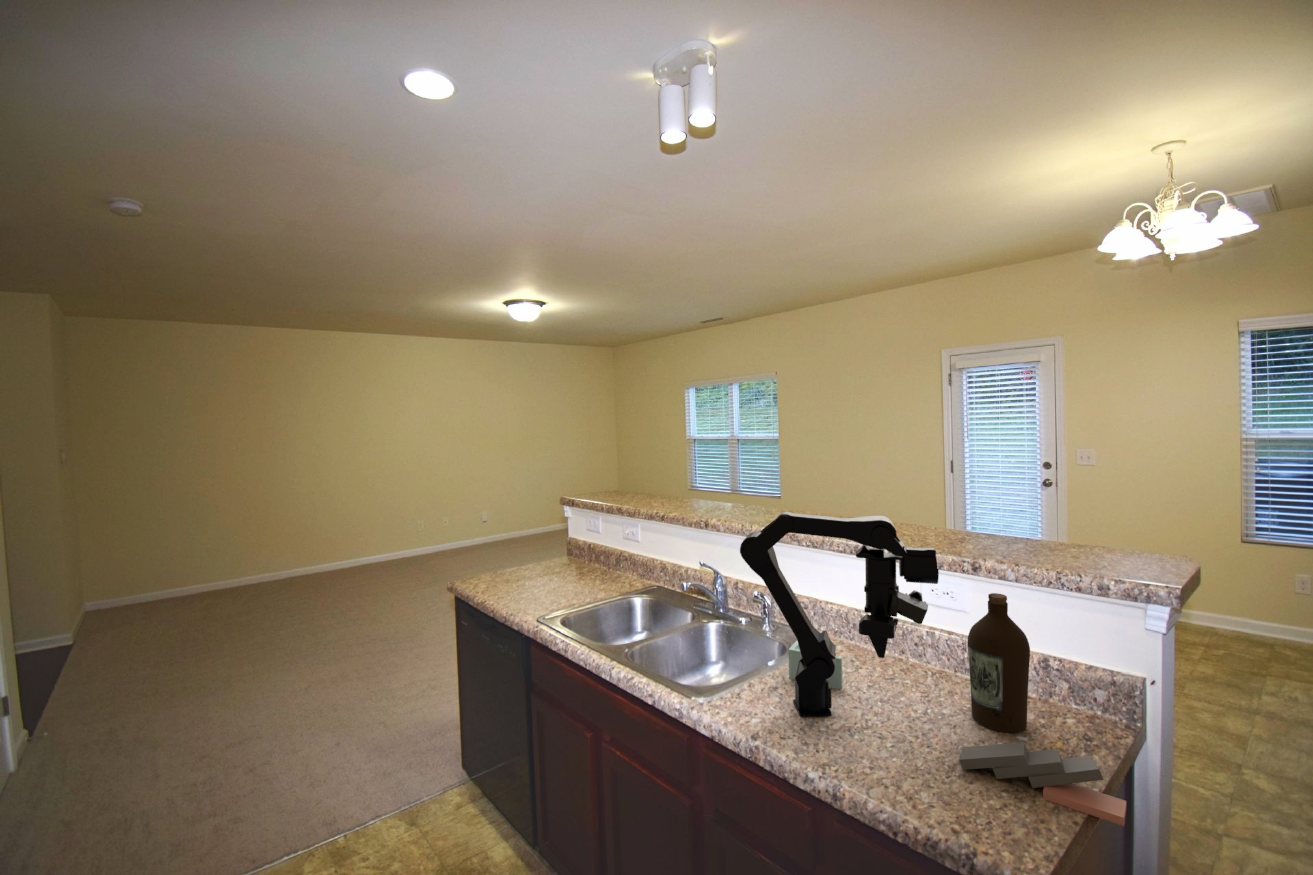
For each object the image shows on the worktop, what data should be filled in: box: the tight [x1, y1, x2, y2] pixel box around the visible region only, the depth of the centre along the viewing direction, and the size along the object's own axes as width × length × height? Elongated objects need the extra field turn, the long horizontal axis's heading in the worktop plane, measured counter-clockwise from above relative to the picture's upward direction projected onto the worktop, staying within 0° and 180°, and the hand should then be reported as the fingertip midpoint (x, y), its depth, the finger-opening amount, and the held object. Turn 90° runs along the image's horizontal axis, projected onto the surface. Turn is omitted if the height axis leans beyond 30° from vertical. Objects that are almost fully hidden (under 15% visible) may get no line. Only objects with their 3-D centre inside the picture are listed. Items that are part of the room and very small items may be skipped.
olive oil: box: [967, 592, 1031, 734], centre depth 116 cm, size 11×11×25 cm
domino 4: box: [1042, 783, 1127, 827], centre depth 91 cm, size 2×5×10 cm
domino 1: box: [958, 741, 1029, 770], centre depth 100 cm, size 2×5×10 cm
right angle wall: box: [788, 640, 843, 690], centre depth 139 cm, size 12×12×8 cm
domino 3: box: [1027, 755, 1104, 789], centre depth 95 cm, size 2×5×10 cm
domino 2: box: [992, 748, 1065, 780], centre depth 97 cm, size 2×5×10 cm
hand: (881, 657), depth 118 cm, fingers closed
